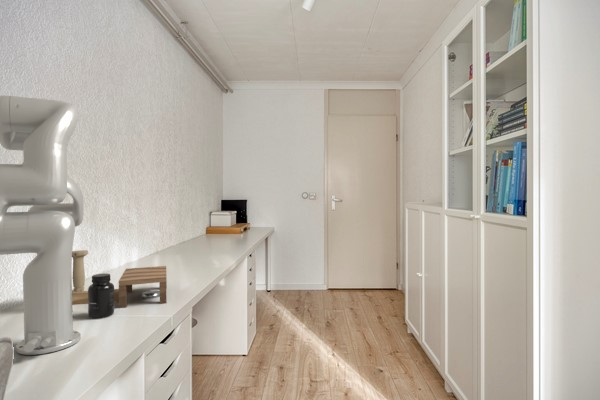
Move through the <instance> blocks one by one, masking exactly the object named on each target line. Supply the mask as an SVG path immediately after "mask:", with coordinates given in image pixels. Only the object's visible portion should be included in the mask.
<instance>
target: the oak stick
mask: <svg viewBox="0 0 600 400" xmlns="http://www.w3.org/2000/svg"><path fill="white" fill-rule="evenodd" d="M114 303H119V288H114ZM76 305H88V290H83V291H77V292H74V291H72V306H76Z"/></svg>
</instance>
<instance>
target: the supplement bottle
mask: <svg viewBox="0 0 600 400" xmlns="http://www.w3.org/2000/svg"><path fill="white" fill-rule="evenodd" d="M114 289H115V286H114V283H112V282H111V274H110V273H95V274H93V275H91V284H90V285H89V286H88V288H87V291H88V304H87V314H88V315H87V316H88V317H89V318H90V319H105V318H109V317H111V316H113V315H114V313H115V302H114Z"/></svg>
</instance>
